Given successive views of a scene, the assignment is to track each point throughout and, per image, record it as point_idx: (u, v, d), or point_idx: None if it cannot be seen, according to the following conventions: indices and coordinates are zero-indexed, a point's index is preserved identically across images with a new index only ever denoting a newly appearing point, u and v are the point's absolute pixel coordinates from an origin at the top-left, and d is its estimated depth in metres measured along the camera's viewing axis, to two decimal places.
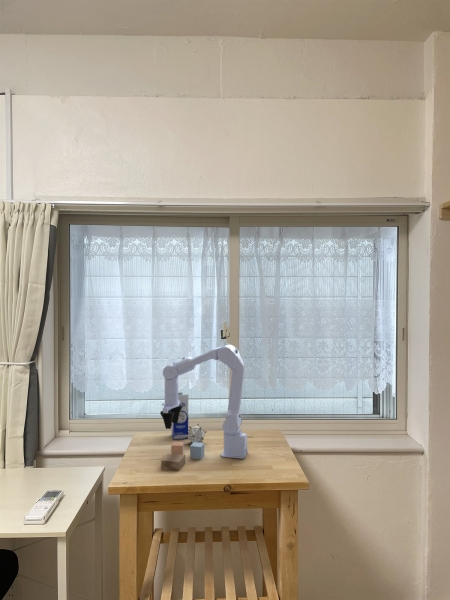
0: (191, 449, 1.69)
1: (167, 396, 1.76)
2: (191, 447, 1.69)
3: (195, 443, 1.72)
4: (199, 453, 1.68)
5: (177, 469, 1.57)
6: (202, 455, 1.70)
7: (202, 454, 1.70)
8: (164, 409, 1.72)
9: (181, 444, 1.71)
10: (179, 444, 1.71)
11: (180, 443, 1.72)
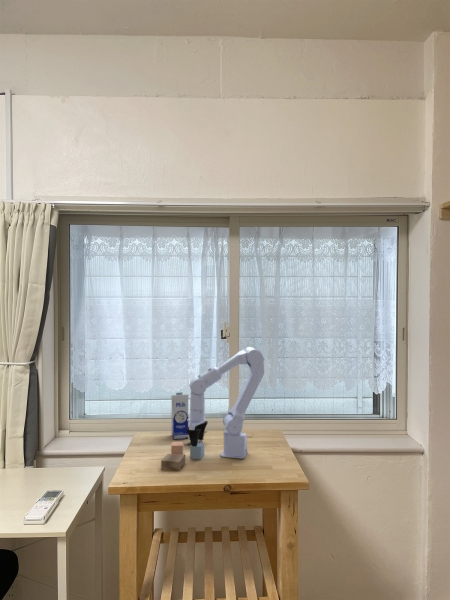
0: (191, 449, 1.69)
1: (193, 412, 1.68)
2: (191, 447, 1.69)
3: None
4: (199, 453, 1.68)
5: (177, 469, 1.57)
6: (202, 455, 1.70)
7: (202, 454, 1.70)
8: (190, 426, 1.64)
9: (181, 444, 1.71)
10: (179, 444, 1.71)
11: (180, 443, 1.72)
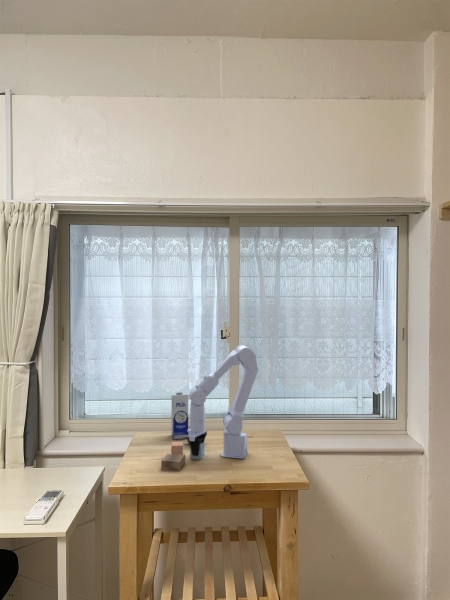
0: None
1: (193, 422, 1.68)
2: None
3: None
4: (199, 453, 1.68)
5: (177, 469, 1.57)
6: (202, 455, 1.70)
7: (202, 454, 1.70)
8: (191, 437, 1.64)
9: (181, 444, 1.71)
10: (179, 444, 1.71)
11: (180, 443, 1.72)
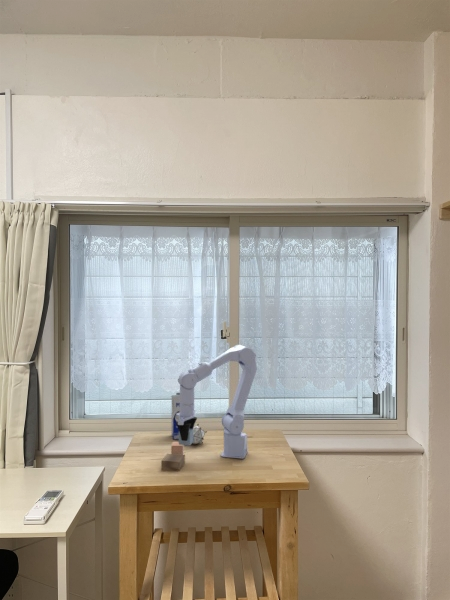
0: None
1: (182, 406, 1.64)
2: None
3: None
4: (188, 439, 1.64)
5: (178, 469, 1.58)
6: (191, 441, 1.66)
7: (191, 440, 1.66)
8: (179, 421, 1.59)
9: None
10: None
11: None
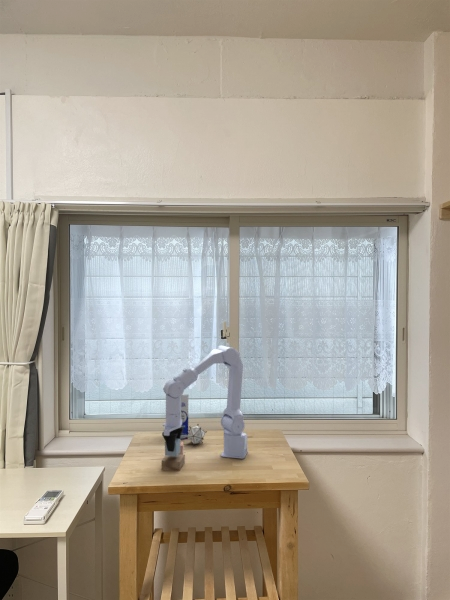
0: (166, 445, 1.60)
1: (168, 416, 1.59)
2: None
3: None
4: (174, 449, 1.59)
5: (178, 469, 1.58)
6: (178, 451, 1.61)
7: (178, 450, 1.61)
8: (165, 431, 1.54)
9: (181, 444, 1.71)
10: None
11: (180, 443, 1.72)
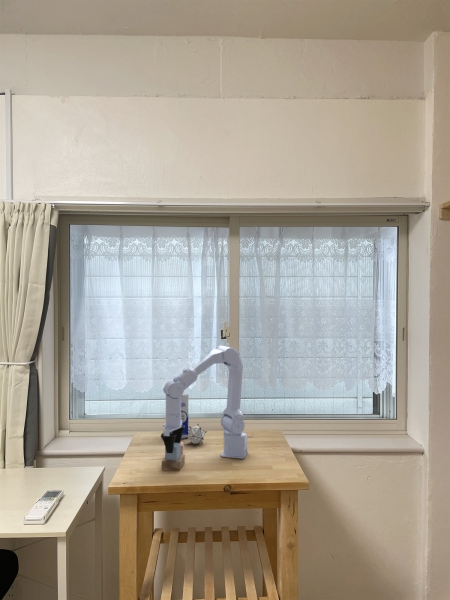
0: None
1: (168, 417, 1.59)
2: None
3: None
4: (174, 454, 1.59)
5: (178, 469, 1.58)
6: (178, 456, 1.61)
7: (178, 455, 1.60)
8: (165, 432, 1.54)
9: (181, 444, 1.71)
10: None
11: None
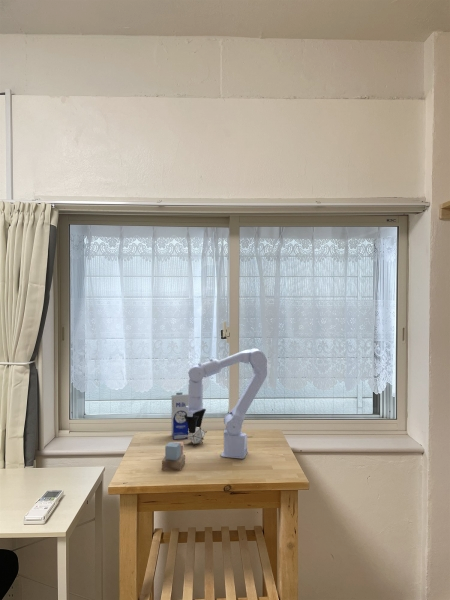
0: (166, 449, 1.60)
1: (191, 399, 1.69)
2: (166, 447, 1.60)
3: (171, 443, 1.63)
4: (174, 453, 1.59)
5: (178, 469, 1.58)
6: (178, 456, 1.61)
7: (178, 454, 1.61)
8: (189, 412, 1.65)
9: (181, 444, 1.71)
10: None
11: None
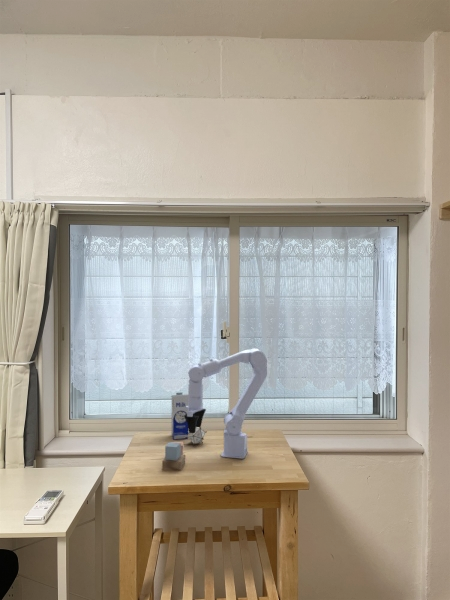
0: (166, 449, 1.60)
1: (191, 399, 1.69)
2: (166, 447, 1.60)
3: (171, 443, 1.63)
4: (174, 454, 1.59)
5: (179, 469, 1.58)
6: (178, 456, 1.60)
7: (178, 455, 1.60)
8: (189, 412, 1.65)
9: (181, 444, 1.71)
10: None
11: None
